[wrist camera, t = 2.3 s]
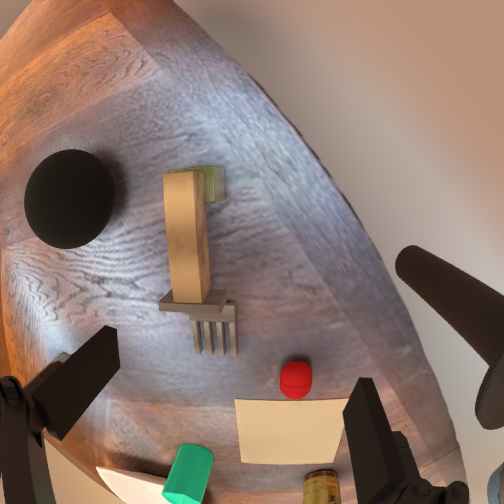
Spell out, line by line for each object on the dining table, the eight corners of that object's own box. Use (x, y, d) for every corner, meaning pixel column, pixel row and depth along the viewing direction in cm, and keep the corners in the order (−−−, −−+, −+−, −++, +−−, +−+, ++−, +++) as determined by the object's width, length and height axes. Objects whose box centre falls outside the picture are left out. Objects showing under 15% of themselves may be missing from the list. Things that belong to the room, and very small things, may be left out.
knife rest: (224, 168, 26) (213, 166, 22) (225, 199, 27) (215, 202, 23) (185, 171, 27) (167, 170, 22) (186, 201, 27) (169, 205, 23)
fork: (180, 177, 27) (145, 176, 19) (231, 173, 26) (211, 169, 19) (196, 349, 31) (175, 389, 24) (240, 352, 31) (228, 395, 23)
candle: (209, 466, 38) (194, 519, 26) (176, 455, 38) (156, 506, 26) (218, 451, 36) (202, 510, 25) (182, 439, 36) (159, 496, 25)
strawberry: (312, 354, 30) (314, 373, 26) (309, 385, 31) (311, 405, 28) (280, 354, 30) (279, 373, 27) (279, 385, 31) (278, 405, 28)
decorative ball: (130, 242, 29) (73, 268, 19) (67, 233, 30) (10, 252, 20) (135, 151, 27) (75, 142, 17) (69, 154, 27) (9, 152, 18)
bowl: (222, 510, 43) (217, 528, 38) (134, 492, 46) (127, 507, 41) (202, 468, 38) (195, 492, 33) (98, 444, 41) (86, 461, 35)
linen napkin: (351, 397, 31) (351, 398, 31) (332, 461, 35) (333, 462, 35) (234, 398, 33) (234, 399, 33) (241, 462, 36) (241, 462, 36)
